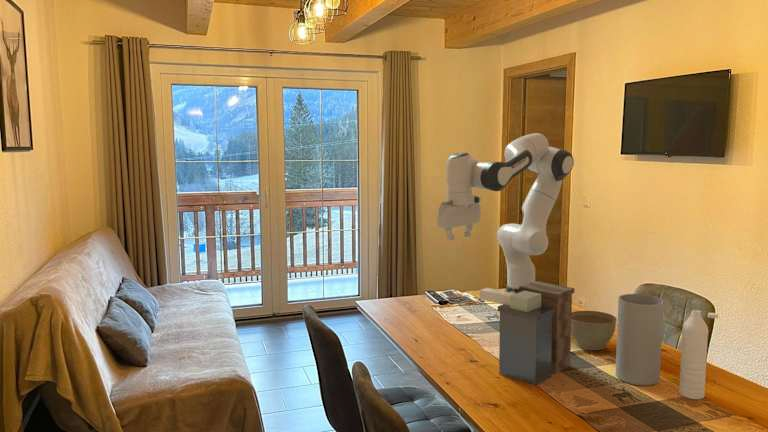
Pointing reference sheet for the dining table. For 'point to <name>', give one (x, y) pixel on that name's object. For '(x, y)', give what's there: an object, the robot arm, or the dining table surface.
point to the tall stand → (556, 320)
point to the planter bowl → (592, 329)
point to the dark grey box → (525, 343)
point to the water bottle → (694, 356)
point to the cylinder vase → (639, 339)
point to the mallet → (513, 299)
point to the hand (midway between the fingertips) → (459, 238)
